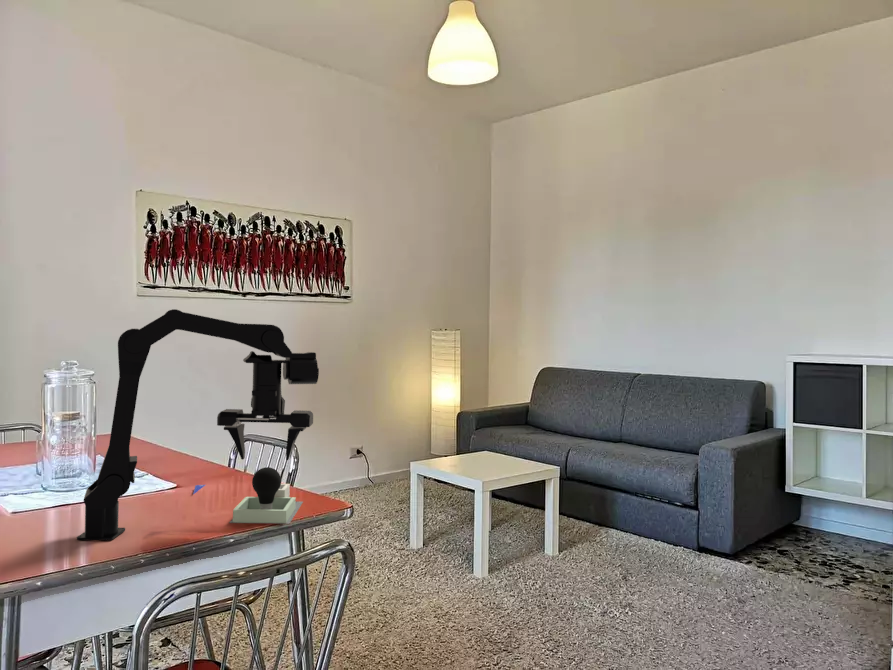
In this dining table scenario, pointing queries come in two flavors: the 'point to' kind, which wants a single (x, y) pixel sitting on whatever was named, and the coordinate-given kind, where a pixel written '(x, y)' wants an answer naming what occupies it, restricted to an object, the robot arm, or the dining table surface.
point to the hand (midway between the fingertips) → (265, 459)
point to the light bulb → (266, 486)
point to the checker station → (279, 513)
